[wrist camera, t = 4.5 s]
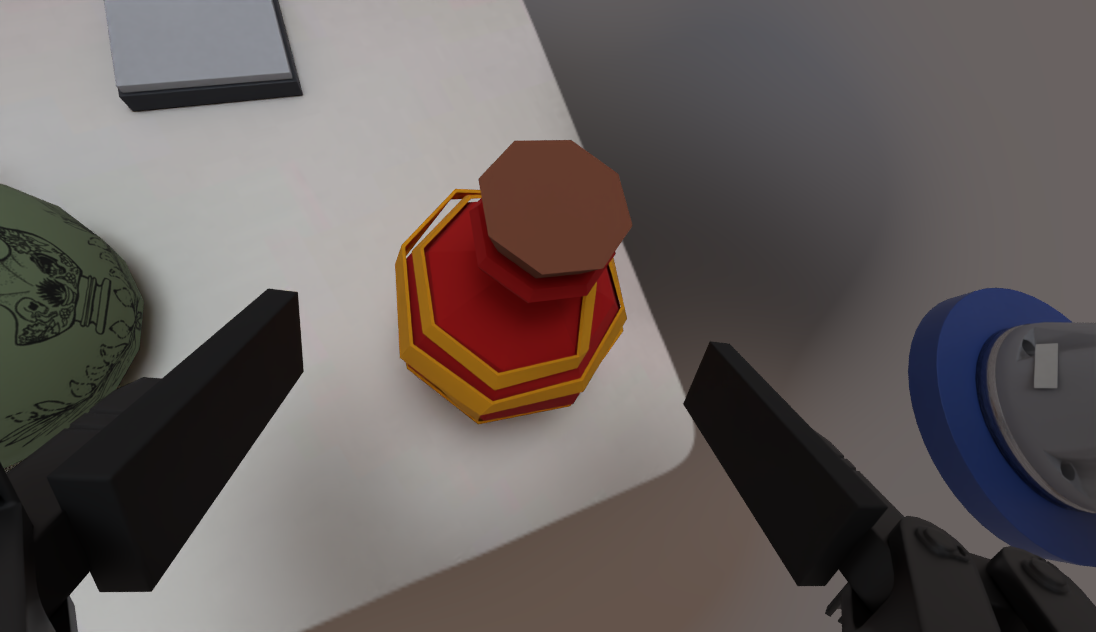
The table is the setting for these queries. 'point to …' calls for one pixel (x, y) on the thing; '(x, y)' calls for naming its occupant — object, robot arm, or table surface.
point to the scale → (199, 52)
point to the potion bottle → (516, 284)
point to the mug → (57, 322)
